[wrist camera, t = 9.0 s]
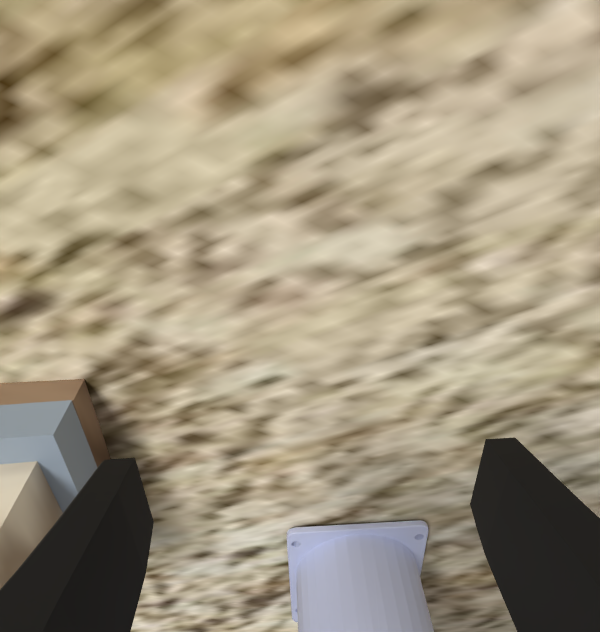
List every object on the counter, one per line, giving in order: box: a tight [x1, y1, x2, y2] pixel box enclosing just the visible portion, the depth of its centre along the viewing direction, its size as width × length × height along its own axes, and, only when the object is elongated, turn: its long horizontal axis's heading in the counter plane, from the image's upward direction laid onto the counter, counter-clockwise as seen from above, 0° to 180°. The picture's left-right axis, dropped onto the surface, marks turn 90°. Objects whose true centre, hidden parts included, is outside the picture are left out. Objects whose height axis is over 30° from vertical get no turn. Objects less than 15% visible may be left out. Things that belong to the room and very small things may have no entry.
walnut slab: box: [0, 379, 111, 468], centre depth 23 cm, size 7×7×2 cm
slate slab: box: [0, 400, 97, 512], centre depth 21 cm, size 7×7×2 cm
